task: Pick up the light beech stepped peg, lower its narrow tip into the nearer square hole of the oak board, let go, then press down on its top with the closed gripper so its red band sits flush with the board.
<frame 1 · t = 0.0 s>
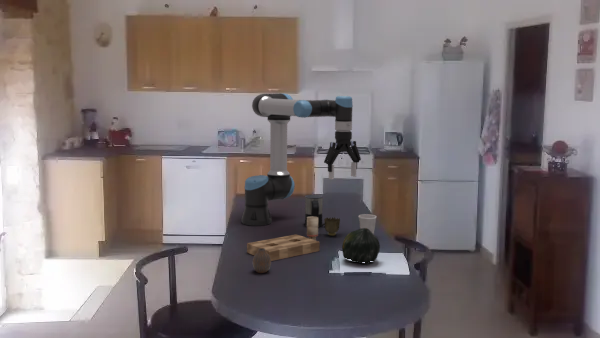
hand: (342, 177, 284), 28 cm above the table, tool pointing down, fingers open, 13 cm apart
cup: (331, 236, 292), on the table
vase: (261, 272, 236), on the table
milk frother: (321, 226, 312), on the table
dixie cup: (367, 237, 290), on the table
oak board: (283, 251, 264), on the table
squash: (360, 262, 250), on the table
beech peg: (312, 243, 279), on the table
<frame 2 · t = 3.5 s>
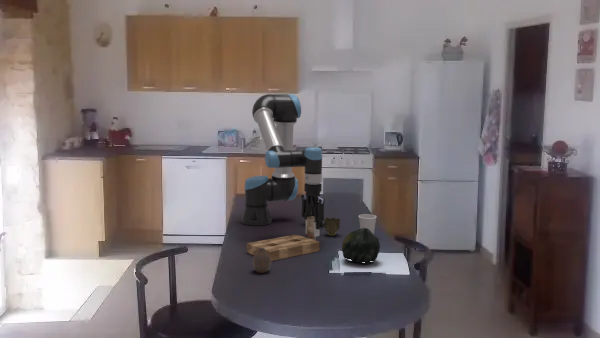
hand: (312, 234, 278), 4 cm above the table, tool pointing down, fingers closed on beech peg, 5 cm apart
beech peg: (312, 243, 279), on the table, touching gripper
everything else where it was.
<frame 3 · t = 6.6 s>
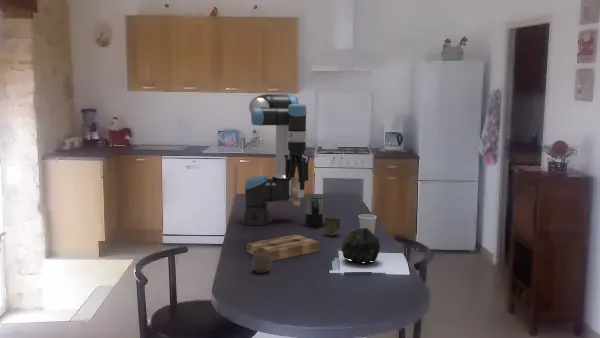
hand: (296, 196, 265), 23 cm above the table, tool pointing down, fingers closed on beech peg, 5 cm apart
beech peg: (296, 204, 265), point 19 cm above the table, touching gripper
everything else where it was.
when the fingers open (5 cm above the table, at t = 9.8 s): beech peg stays where it is, resting on oak board.
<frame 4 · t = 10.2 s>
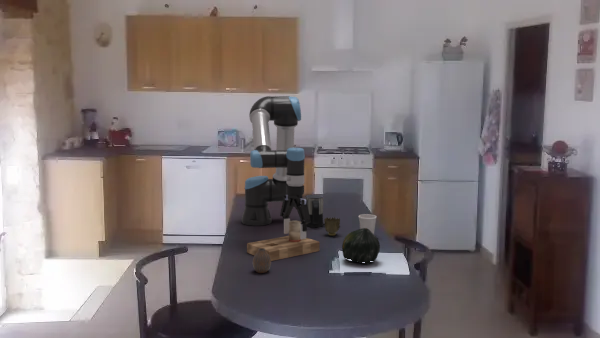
hand: (294, 236, 267), 6 cm above the table, tool pointing down, fingers open, 10 cm apart
beech peg: (294, 248, 267), resting on oak board
everything else where it was.
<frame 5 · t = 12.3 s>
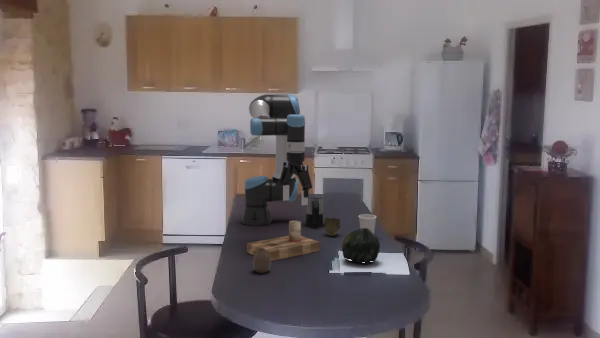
hand: (295, 202, 265), 20 cm above the table, tool pointing down, fingers open, 12 cm apart
nothing on the table moved.
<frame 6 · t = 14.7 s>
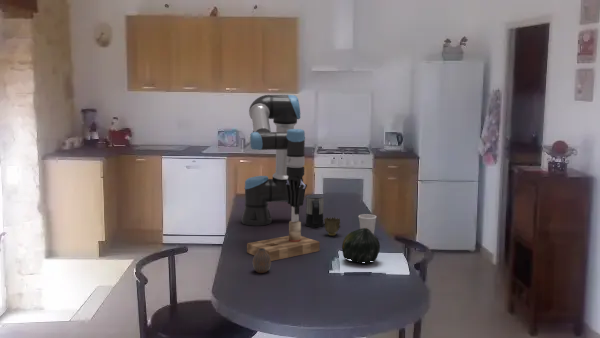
hand: (295, 221, 266), 12 cm above the table, tool pointing down, fingers closed
beech peg: (294, 248, 267), resting on oak board, touching gripper
everything else where it was.
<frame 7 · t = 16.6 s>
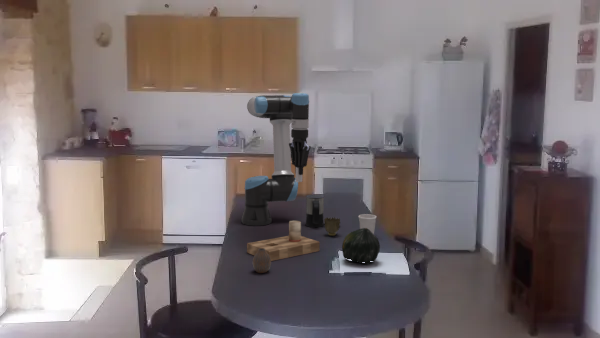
hand: (299, 181, 279), 27 cm above the table, tool pointing down, fingers closed
beech peg: (294, 248, 267), resting on oak board
everything else where it was.
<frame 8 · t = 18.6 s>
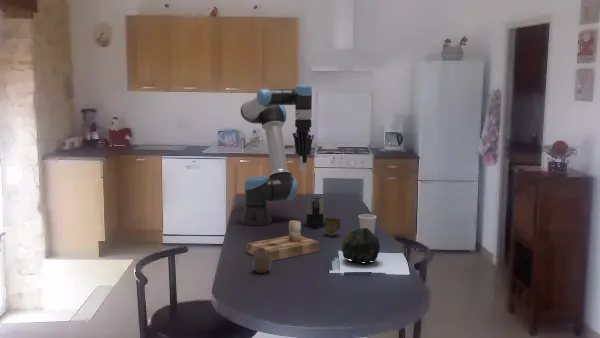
hand: (302, 169, 291), 30 cm above the table, tool pointing down, fingers closed
nothing on the table moved.
at the end: beech peg 0.0 cm from the target spot on the oak board, point 0.5 cm above the oak board's base; beech peg tilted 0°; the gripper is holding nothing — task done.
